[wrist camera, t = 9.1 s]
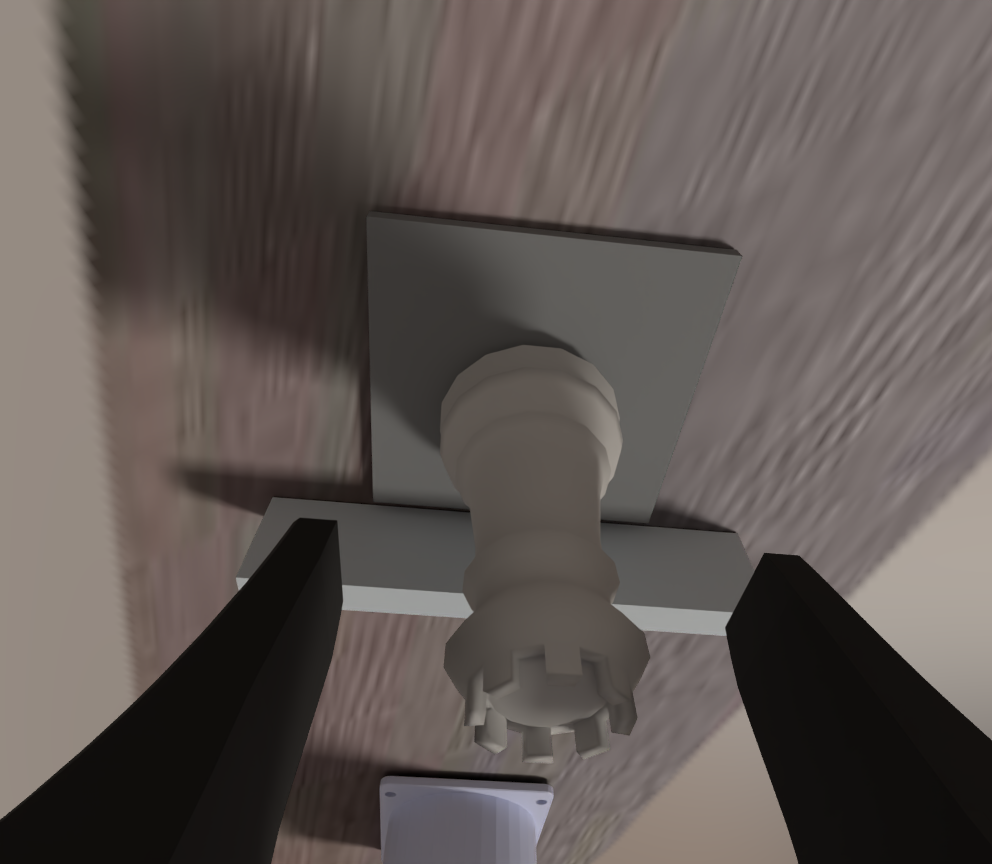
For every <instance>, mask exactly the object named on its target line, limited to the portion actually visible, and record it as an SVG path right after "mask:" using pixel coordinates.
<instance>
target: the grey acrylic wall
mask: <svg viewBox="0 0 992 864" xmlns="http://www.w3.org/2000/svg"><path fill="white" fill-rule="evenodd" d="M298 518H313V519H326V520H337V522H338V536H339V549H340V563H341V577H342V591H343V605H342V610H354V611H368V612H383V613H398V614H412V615H427V616H442V617H457V618H468V617H469V616H470V615H471V614H472V613H473V611H472V610H471V608H470V606H469V604H468V602H467V600H466V598H465V596H464V594H463V592H462V590H463V580H464V571H465V570H466V568H467V567H468V566H469V565H470V563H471V562H472V561H473V559H474V558H475V542H474V535H473V528H472V520H471V513H470V512H457V511H444V510H432V509H419V508H406V507H393V506H380V505H367V504H355V503H342V502H329V501H316V500H303V499H291V498H278V497H272V499H271V502H270V504H269V506H268V508H267V510H266V513H265V515H264V517H263V519H262V521H261V524H260V526H259V528H258V530H257V532H256V534H255V537H254V539H253V541H252V543H251V545H250V548H249V550H248V552H247V554H246V556H245V559H244V561H243V563H242V565H241V567H240V569H239V572H238V574H237V576H236V580H237V585H238V589H239V590H240V589H241V588H242V587H243V586H244V584H245V583H246V582H247V581H248V579H249V578H250V577H251V576H252V575H253V573H254V572H255V571H256V570H257V569H258V567H259V566H260V565H261V564H262V562H263V561H264V560H265V559H266V557H267V556H268V555H269V554H270V552H271V551H272V550H273V548H274V547H275V546H276V545H277V543H278V542H279V541H280V539H281V538H282V537H283V535H284V534H285V533H286V531H287V530H288V529H289V527H290V526H291V525H292V523H293V522H294V521H296V520H297V519H298ZM600 541H601V546H602V550H603V551H604V552H605V553H606V554H607V555H608V556H609V557H610V558H611V559H612V560H613V561H614V562H615V565H616V569H617V573H618V577H619V581H620V584H619V587H618V590H617V593H616V596H615V599H614V601H613V603H612V604H611V605H613V606H614V607H615V608H617V609H618V610H619V611H621V612H622V613H623V614H624V615H625V616H626V617H627V618H628V619H629V620H631V621H632V622H633V623H634V624H635V625H636V626H637V627H638V628H639V629H640V630H648V631H663V632H677V633H692V634H707V635H721V636H727V635H726V630H725V626H726V625H727V623H728V621H729V619H730V617H731V615H732V613H733V611H734V609H735V608H736V606H737V604H738V602H739V600H740V598H741V596H742V594H743V592H744V591H745V589H746V587H747V585H748V583H749V581H750V579H751V577H752V575H753V574H754V572H755V571H754V569H753V566H752V564H751V562H750V560H749V558H748V555H747V553H746V551H745V549H744V546H743V544H742V542H741V540H740V537H739V535H738V533H726V532H713V531H700V530H688V529H675V528H662V527H649V526H636V525H624V524H611V523H600Z"/></svg>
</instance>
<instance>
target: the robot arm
mask: <svg viewBox="0 0 992 864" xmlns="http://www.w3.org/2000/svg"><path fill="white" fill-rule="evenodd" d="M342 605H343V591H342V577H341V563H340V549H339V536H338V522H337V520H326V519H313V518H298V519H297V520H296V521H294V522H293V523H292V525H291V526H290V527H289V529H288V530H287V531H286V533H285V534H284V535H283V537H282V538H281V539H280V541H279V542H278V543H277V545H276V546H275V547H274V548H273V550H272V551H271V552H270V554H269V555H268V556H267V557H266V559H265V560H264V561H263V562H262V564H261V565H260V566H259V567H258V569H257V570H256V571H255V572H254V573H253V575H252V576H251V577H250V578H249V579H248V581H247V582H246V583H245V584H244V586H243V587H242V588H241V589H240V590H239V591H238V592H237V594H236V595H235V596H234V597H233V598H232V599H231V601H230V602H229V603H228V604H227V605H226V606H225V607H224V609H223V610H222V611H221V612H220V613H219V614H218V615H217V617H216V618H215V619H214V620H213V621H212V622H211V623H210V625H209V626H208V627H207V628H206V629H205V630H204V631H203V632H202V633H201V634H200V636H199V637H198V638H197V639H196V640H195V641H194V642H193V643H192V644H191V645H190V646H189V647H188V648H187V649H186V650H185V651H184V652H183V653H182V654H181V655H180V656H179V657H178V658H177V660H176V661H175V662H174V663H173V664H172V665H171V666H170V667H169V668H168V669H167V670H166V671H165V672H164V673H163V674H162V675H161V676H160V677H159V678H158V679H157V680H156V681H155V682H154V683H153V684H152V685H151V686H150V687H149V688H148V689H147V690H146V691H145V692H144V693H143V694H142V695H141V696H140V697H139V698H138V699H137V700H136V701H135V702H134V703H133V704H132V705H131V706H130V707H129V708H128V709H127V710H126V711H125V712H123V713H122V714H121V715H120V716H119V717H118V718H117V719H116V720H115V721H114V722H113V723H112V724H111V725H110V726H108V727H107V728H106V729H105V730H104V731H103V732H102V733H101V734H100V735H99V736H97V737H96V738H95V739H94V740H93V741H92V742H91V743H90V744H89V745H88V746H86V747H85V748H84V749H83V750H82V751H81V752H80V753H79V754H77V755H76V756H75V757H74V758H73V759H72V760H70V761H69V763H67V764H66V765H65V766H63V767H62V768H61V769H60V770H59V771H58V772H57V773H55V774H54V775H53V776H52V777H51V778H50V779H48V780H47V781H46V782H45V783H44V784H43V785H41V786H40V787H39V788H38V789H37V790H36V791H35V792H33V793H32V794H31V795H30V796H29V797H27V798H26V799H25V800H24V801H23V802H21V803H20V804H19V805H18V806H17V807H16V808H14V809H13V810H12V811H11V812H9V813H8V814H7V815H6V816H4V817H3V818H2V819H1V820H0V864H271V861H272V857H273V853H274V848H275V844H276V840H277V835H278V831H279V828H280V824H281V820H282V817H283V813H284V810H285V806H286V803H287V799H288V796H289V793H290V790H291V786H292V783H293V780H294V777H295V774H296V771H297V768H298V764H299V761H300V758H301V755H302V752H303V749H304V746H305V742H306V739H307V736H308V733H309V730H310V727H311V724H312V720H313V717H314V714H315V711H316V708H317V705H318V702H319V698H320V695H321V692H322V689H323V686H324V682H325V679H326V676H327V673H328V670H329V666H330V663H331V659H332V655H333V650H334V645H335V640H336V636H337V631H338V625H339V620H340V615H341V610H342ZM725 630H726V635H727V640H728V645H729V650H730V655H731V660H732V664H733V668H734V673H735V677H736V681H737V685H738V689H739V692H740V695H741V698H742V701H743V703H744V706H745V709H746V712H747V715H748V718H749V721H750V724H751V726H752V729H753V732H754V735H755V738H756V741H757V743H758V746H759V749H760V752H761V755H762V757H763V760H764V763H765V765H766V768H767V771H768V774H769V777H770V780H771V782H772V785H773V788H774V791H775V794H776V797H777V799H778V802H779V805H780V808H781V810H782V813H783V816H784V819H785V822H786V824H787V828H788V831H789V834H790V837H791V840H792V844H793V847H794V850H795V853H796V856H797V860H798V864H992V740H991V739H990V738H989V737H987V736H986V735H985V734H984V733H983V732H982V731H981V730H980V729H979V728H977V727H976V726H975V725H974V724H973V723H972V722H971V721H970V720H969V719H967V718H966V717H965V716H964V715H963V714H962V713H961V712H960V711H959V710H957V709H956V708H955V707H954V706H953V705H952V704H951V703H950V702H949V701H948V700H946V699H945V698H944V697H943V696H942V695H941V694H940V693H939V692H938V691H937V690H936V689H935V688H934V687H933V686H931V685H930V684H929V683H928V682H927V681H926V680H925V679H924V678H923V677H922V676H921V675H920V674H919V673H918V672H917V671H916V670H915V669H914V668H913V667H912V666H911V665H910V664H909V663H907V662H906V661H905V660H904V659H903V658H902V657H901V656H900V655H899V654H898V653H897V652H896V651H895V650H894V649H893V648H892V647H891V646H890V645H889V644H888V643H887V642H886V641H885V640H884V639H883V638H882V637H881V636H880V635H879V634H878V633H877V632H876V631H875V630H874V629H873V628H872V627H871V626H870V625H869V624H868V623H867V622H866V621H865V620H864V619H863V618H862V617H861V616H860V615H859V614H858V613H857V612H856V611H855V610H854V609H853V608H852V607H851V606H850V605H849V604H848V603H847V602H846V601H845V600H844V599H843V598H842V597H841V596H840V595H839V594H838V593H837V592H836V591H835V590H834V589H833V588H832V587H831V586H830V585H829V584H828V583H827V582H826V581H825V580H824V579H823V578H822V577H821V576H820V575H819V574H818V573H817V572H816V571H815V570H814V569H813V568H812V567H811V566H810V565H809V564H808V563H806V562H805V561H804V560H803V559H802V558H801V557H800V556H798V555H785V554H771V553H764V555H763V557H762V558H761V560H760V562H759V564H758V566H757V568H756V570H755V572H754V574H753V575H752V577H751V579H750V581H749V583H748V585H747V587H746V589H745V591H744V592H743V594H742V596H741V598H740V600H739V602H738V604H737V606H736V608H735V609H734V611H733V613H732V615H731V617H730V619H729V621H728V623H727V625H726V626H725ZM379 789H380V828H381V860H382V862H383V864H537V858H536V845H537V842H538V839H539V837H540V834H541V831H542V828H543V825H544V822H545V820H546V817H547V814H548V811H549V808H550V806H551V803H552V800H553V797H554V796H553V788H552V787H551V786H550V785H548V784H539V783H520V782H501V781H482V780H463V779H444V778H425V777H406V776H386V777H383V778H382V779H381V781H380V788H379Z"/></svg>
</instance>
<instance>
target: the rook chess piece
mask: <svg viewBox="0 0 992 864" xmlns="http://www.w3.org/2000/svg"><path fill="white" fill-rule="evenodd" d="M619 420H620V417H619V412H618V408H617V403H616V398H615V394H614V389H613V388H612V387H611V386H610V384H609V383H608V382H607V381H606V380H605V378H604V377H603V376H602V375H601V373H600V372H599V371H598V370H597V369H596V367H595V366H594V365H593V364H591V363H589V362H587V361H585V360H583V359H581V358H579V357H577V356H575V355H573V354H571V353H569V352H567V351H565V350H563V349H561V348H551V347H541V346H530V345H521V346H517V347H513V348H509V349H505V350H501V351H498V352H494V353H490V354H486V355H485V356H484V357H482V358H481V359H479V360H478V361H477V362H475V363H474V364H472V365H471V366H470V367H468V368H467V369H466V370H464V371H463V372H461V373H460V374H459V375H457V377H456V379H455V381H454V382H453V384H452V386H451V387H450V389H449V391H448V393H447V394H446V396H445V398H444V399H443V401H442V405H441V422H440V433H441V443H440V455H441V458H442V461H443V464H444V466H445V468H446V471H447V473H448V475H449V477H450V479H451V482H452V484H453V486H454V488H455V489H456V490H457V491H458V492H459V493H460V494H461V497H462V499H463V501H464V503H465V504H466V505H467V506H468V507H469V508H470V513H471V520H472V528H473V535H474V542H475V558H474V559H473V561H472V562H471V563H470V565H469V566H468V567H467V568H466V570H465V571H464V580H463V590H462V592H463V594H464V596H465V598H466V600H467V602H468V604H469V606H470V608H471V610H472V611H473V613H472V614H471V615H470V616H469V617H468V618H467V619H466V620H465V621H464V622H463V623H462V624H461V626H460V627H459V628H458V629H457V631H456V632H455V633H454V634H453V635H452V637H451V638H450V639H449V640H448V642H447V643H446V647H445V658H444V669H445V671H446V672H447V674H448V676H449V677H450V679H451V680H452V682H453V684H454V685H455V687H456V689H457V690H458V691H459V693H460V694H461V695H462V696H463V698H464V699H465V700H466V701H465V721H464V726H473V725H475V743H477V744H478V745H480V746H482V747H483V748H485V749H487V750H488V751H490V752H492V753H493V754H497V753H499V752H500V751H502V750H504V749H505V748H507V729H509V730H512V731H516V732H519V733H522V762H531V763H549V764H553V753H552V739H551V735H554V734H560V733H567V732H575V741H576V751H577V752H578V754H579V755H580V756H581V757H582V758H583V759H587V758H589V757H592V756H595V755H598V754H600V753H603V752H606V751H609V750H610V743H609V737H608V730H607V723H606V720H608V719H610V725H611V732H612V733H618V734H624V735H630V733H631V731H632V729H633V727H634V724H635V722H636V720H637V714H636V708H635V703H634V698H633V691H634V689H635V688H636V686H637V684H638V683H639V681H640V679H641V677H642V675H643V672H644V670H645V668H646V666H647V663H648V661H649V659H650V654H649V650H648V646H647V642H646V638H645V634H644V632H642V631H641V630H640V629H639V628H638V627H637V626H636V625H635V624H634V623H633V622H632V621H631V620H629V619H628V618H627V617H626V616H625V615H624V614H623V613H622V612H621V611H619V610H618V609H617V608H615V607H614V606H613V605H611V604H612V603H613V601H614V599H615V596H616V593H617V590H618V587H619V584H620V581H619V577H618V573H617V569H616V565H615V562H614V561H613V560H612V559H611V558H610V557H609V556H608V555H607V554H606V553H605V552H604V551H603V550H602V546H601V541H600V500H601V499H602V497H603V496H604V495H605V493H606V489H607V486H608V483H609V482H610V481H611V479H612V478H613V477H614V473H615V470H616V466H617V463H618V459H619V456H620V452H621V448H622V442H623V438H622V433H621V429H620V424H619Z"/></svg>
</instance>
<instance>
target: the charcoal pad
mask: <svg viewBox="0 0 992 864" xmlns="http://www.w3.org/2000/svg"><path fill="white" fill-rule="evenodd" d="M366 228H367V269H368V311H369V352H370V393H371V434H372V475H373V502H381V503H394V504H406V505H419V506H432V507H445V508H457V509H470V508H469V507H468V506H467V505H466V504H465V503H464V501H463V499H462V497H461V494H460V493H459V492H458V491H457V490H456V489H455V488H454V486H453V484H452V482H451V479H450V477H449V475H448V473H447V471H446V468H445V466H444V464H443V461H442V458H441V455H440V443H441V433H440V422H441V405H442V401H443V399H444V398H445V396H446V394H447V393H448V391H449V389H450V387H451V386H452V384H453V382H454V381H455V379H456V377H457V375H459V374H460V373H461V372H463V371H464V370H466V369H467V368H468V367H470V366H471V365H472V364H474V363H475V362H477V361H478V360H479V359H481V358H482V357H484V356H485V355H486V354H490V353H494V352H498V351H501V350H505V349H509V348H513V347H517V346H521V345H530V346H541V347H551V348H561V349H563V350H565V351H567V352H569V353H571V354H573V355H575V356H577V357H579V358H581V359H583V360H585V361H587V362H589V363H591V364H593V365H594V366H595V367H596V369H597V370H598V371H599V372H600V373H601V375H602V376H603V377H604V378H605V380H606V381H607V382H608V383H609V384H610V386H611V387H612V388H613V389H614V394H615V398H616V403H617V408H618V412H619V417H620V420H619V424H620V429H621V433H622V438H623V442H622V448H621V452H620V456H619V459H618V463H617V466H616V470H615V473H614V477H613V478H612V479H611V481H610V482H609V483H608V486H607V489H606V493H605V495H604V496H603V497H602V499H601V500H600V520H610V521H623V522H636V523H649V520H650V517H651V514H652V512H653V509H654V506H655V503H656V500H657V497H658V494H659V492H660V489H661V486H662V483H663V480H664V477H665V475H666V472H667V469H668V466H669V463H670V460H671V457H672V455H673V452H674V449H675V446H676V443H677V440H678V438H679V435H680V432H681V429H682V426H683V423H684V421H685V418H686V415H687V412H688V409H689V406H690V403H691V401H692V398H693V395H694V392H695V389H696V386H697V384H698V381H699V378H700V375H701V372H702V369H703V367H704V364H705V361H706V358H707V355H708V352H709V349H710V347H711V344H712V341H713V338H714V335H715V332H716V330H717V327H718V324H719V321H720V318H721V315H722V313H723V310H724V307H725V304H726V301H727V298H728V295H729V293H730V290H731V287H732V284H733V281H734V278H735V276H736V273H737V270H738V267H739V264H740V261H741V259H742V255H741V254H740V253H739V252H738V251H737V250H734V249H724V248H715V247H705V246H696V245H686V244H677V243H668V242H658V241H649V240H639V239H630V238H620V237H611V236H601V235H592V234H583V233H573V232H564V231H554V230H545V229H535V228H526V227H516V226H507V225H498V224H488V223H479V222H469V221H460V220H450V219H441V218H431V217H422V216H413V215H403V214H394V213H384V212H375V211H369V213H368V214H367V216H366Z"/></svg>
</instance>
